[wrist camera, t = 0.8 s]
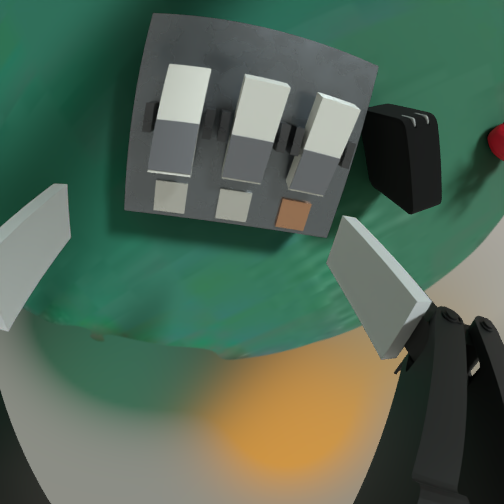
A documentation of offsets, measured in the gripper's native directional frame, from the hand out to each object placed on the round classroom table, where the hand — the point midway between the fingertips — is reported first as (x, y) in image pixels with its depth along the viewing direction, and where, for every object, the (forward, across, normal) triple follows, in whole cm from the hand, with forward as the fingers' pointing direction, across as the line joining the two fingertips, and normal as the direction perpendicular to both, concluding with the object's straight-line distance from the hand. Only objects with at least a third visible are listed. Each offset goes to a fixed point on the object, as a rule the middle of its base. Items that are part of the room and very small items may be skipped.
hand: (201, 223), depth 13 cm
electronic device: (+20, +20, +4) cm, 29 cm away
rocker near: (+12, -3, +3) cm, 13 cm away
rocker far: (+12, +9, +3) cm, 15 cm away
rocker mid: (+12, +3, +3) cm, 13 cm away
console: (+20, +3, +3) cm, 21 cm away
